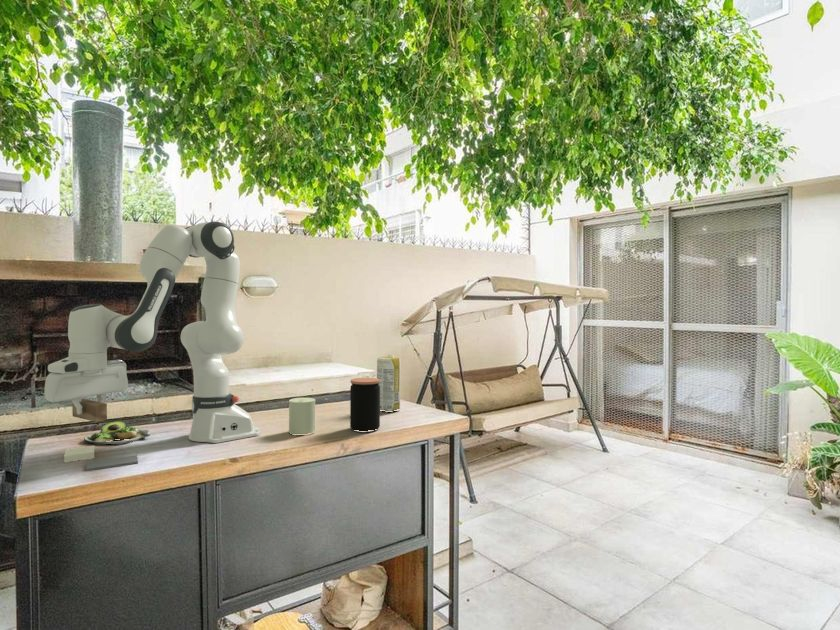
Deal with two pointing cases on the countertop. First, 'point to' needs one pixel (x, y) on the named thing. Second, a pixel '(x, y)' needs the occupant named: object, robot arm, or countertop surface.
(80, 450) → the tile
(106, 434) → the plate of avocado toast
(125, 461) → the pad
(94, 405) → the brown long block
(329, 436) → the countertop surface
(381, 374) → the juice carton
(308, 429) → the can
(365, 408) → the coffee jar
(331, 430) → the countertop surface
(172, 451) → the countertop surface
